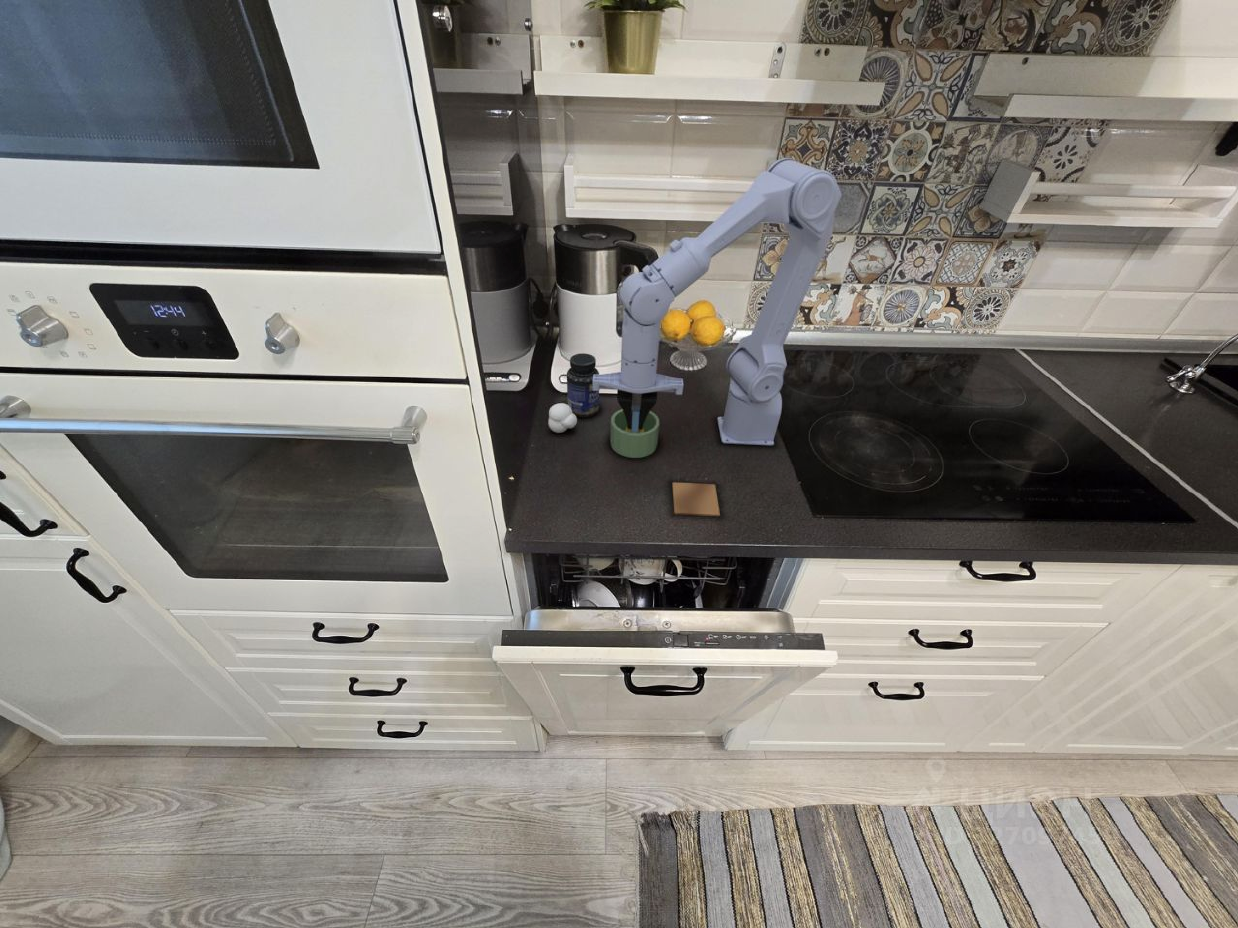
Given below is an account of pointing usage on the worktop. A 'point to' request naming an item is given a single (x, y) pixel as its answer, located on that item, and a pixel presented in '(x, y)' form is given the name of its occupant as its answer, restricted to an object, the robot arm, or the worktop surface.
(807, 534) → the worktop surface
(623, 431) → the green round open container
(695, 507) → the mat
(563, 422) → the microfossil shell
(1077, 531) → the worktop surface
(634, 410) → the brush
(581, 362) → the pill bottle
